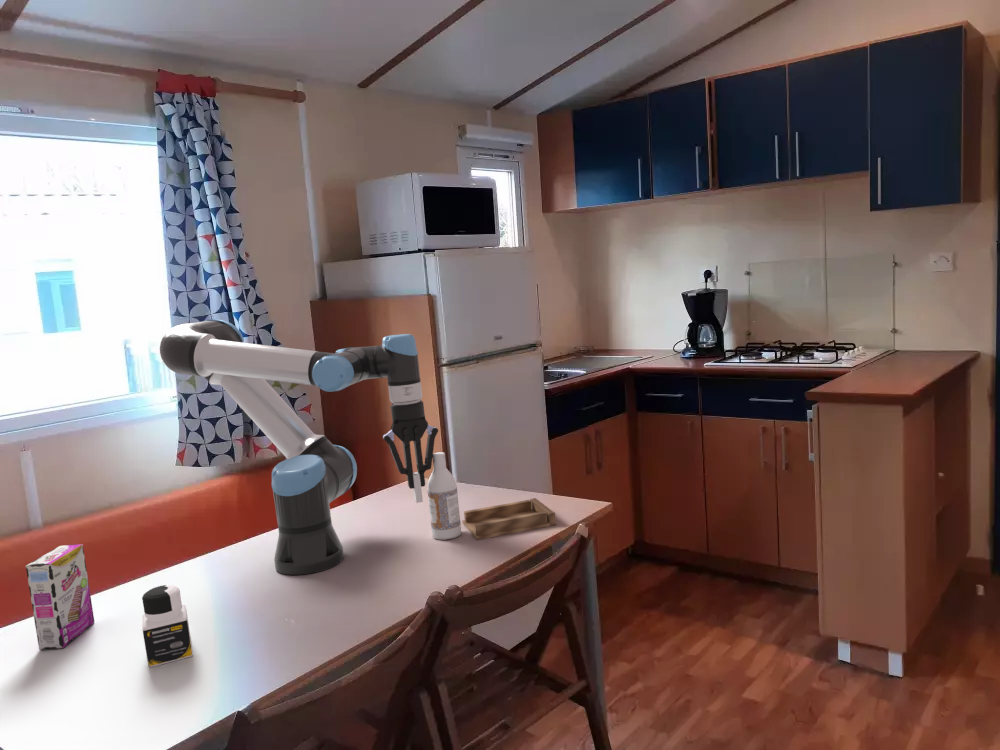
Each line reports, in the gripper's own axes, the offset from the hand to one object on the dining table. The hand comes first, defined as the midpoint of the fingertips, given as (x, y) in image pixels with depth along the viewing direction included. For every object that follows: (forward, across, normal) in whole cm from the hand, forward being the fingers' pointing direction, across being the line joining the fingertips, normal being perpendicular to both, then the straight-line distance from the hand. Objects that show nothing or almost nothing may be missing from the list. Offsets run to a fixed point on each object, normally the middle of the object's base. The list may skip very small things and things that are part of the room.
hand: (418, 500), depth 186 cm
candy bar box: (+9, -72, -17) cm, 75 cm away
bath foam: (+10, +6, 0) cm, 11 cm away
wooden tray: (+10, +20, 0) cm, 23 cm away
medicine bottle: (+10, -52, -35) cm, 63 cm away
